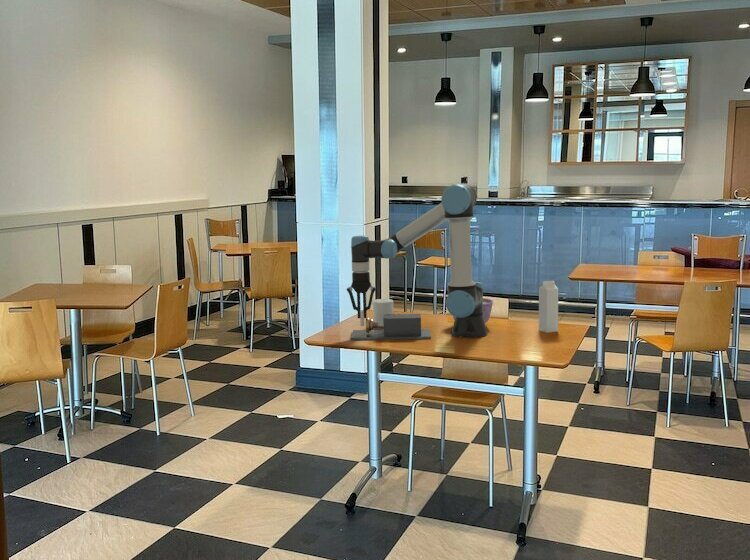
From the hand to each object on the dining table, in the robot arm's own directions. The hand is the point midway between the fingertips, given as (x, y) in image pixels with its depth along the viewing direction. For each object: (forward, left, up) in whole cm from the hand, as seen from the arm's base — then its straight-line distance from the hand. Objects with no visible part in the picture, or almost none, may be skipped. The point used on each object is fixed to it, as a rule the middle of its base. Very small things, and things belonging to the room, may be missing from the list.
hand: (362, 325), depth 318 cm
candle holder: (+9, -20, -5) cm, 23 cm away
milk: (-53, -61, -5) cm, 81 cm away
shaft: (-9, -9, -3) cm, 13 cm away
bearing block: (-9, -9, -5) cm, 13 cm away
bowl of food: (-21, -47, -5) cm, 52 cm away
